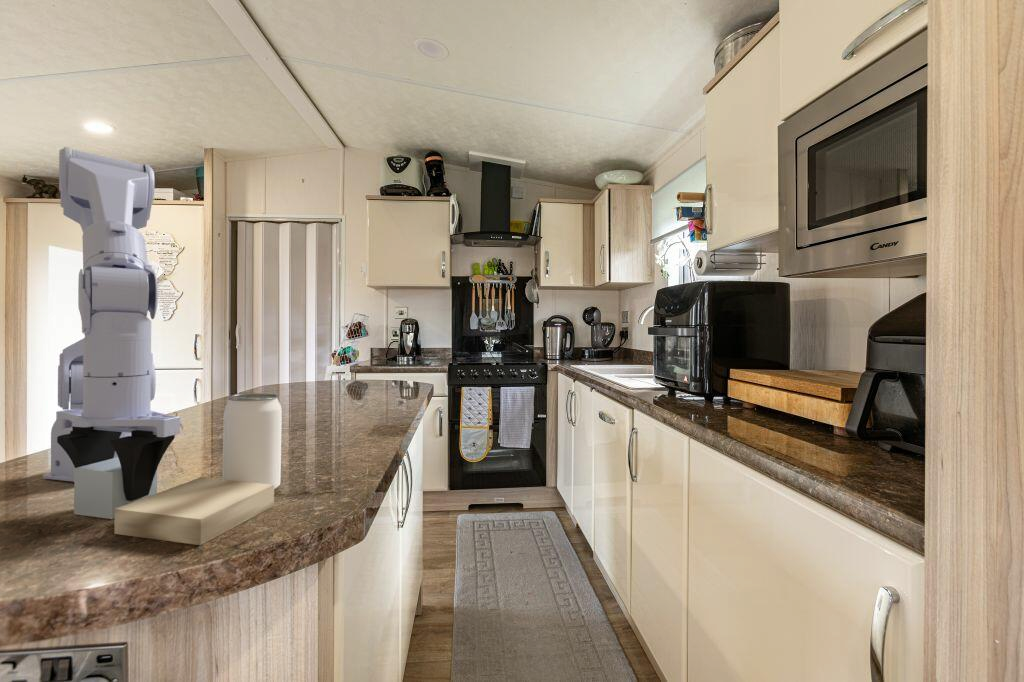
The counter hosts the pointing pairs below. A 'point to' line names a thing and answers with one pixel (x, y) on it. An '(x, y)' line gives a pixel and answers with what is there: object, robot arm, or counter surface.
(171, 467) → the counter surface
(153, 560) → the counter surface
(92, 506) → the block
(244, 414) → the can
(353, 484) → the counter surface
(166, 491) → the base
